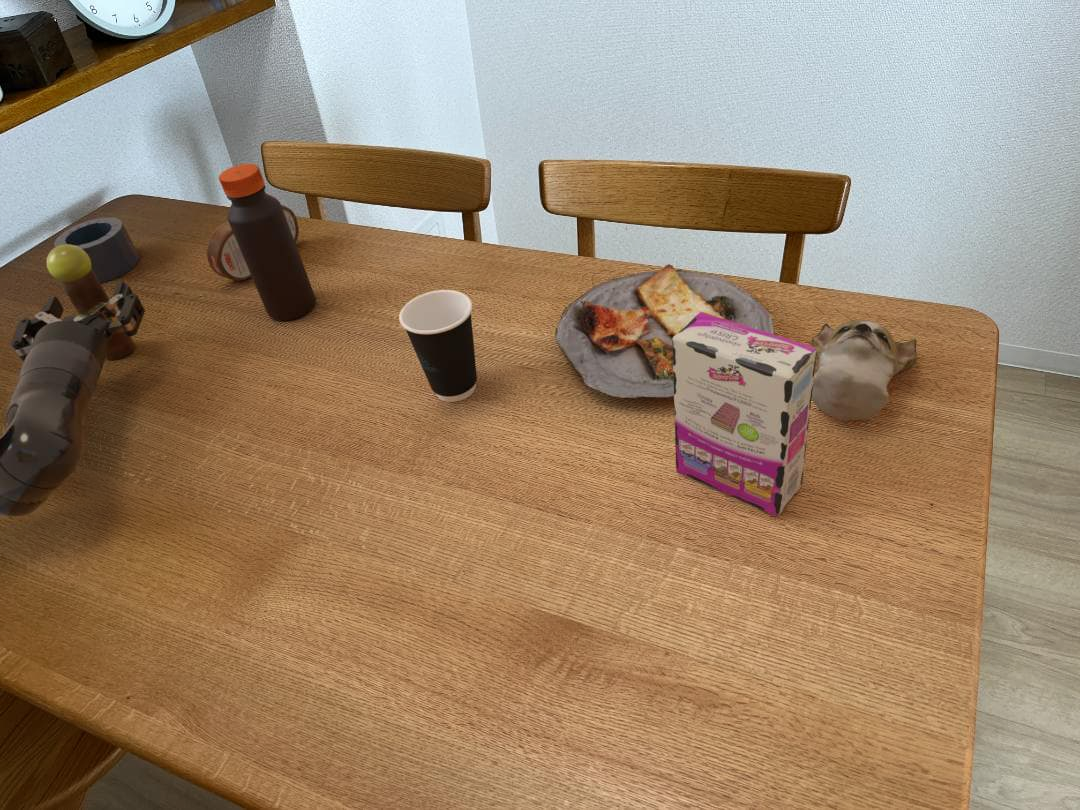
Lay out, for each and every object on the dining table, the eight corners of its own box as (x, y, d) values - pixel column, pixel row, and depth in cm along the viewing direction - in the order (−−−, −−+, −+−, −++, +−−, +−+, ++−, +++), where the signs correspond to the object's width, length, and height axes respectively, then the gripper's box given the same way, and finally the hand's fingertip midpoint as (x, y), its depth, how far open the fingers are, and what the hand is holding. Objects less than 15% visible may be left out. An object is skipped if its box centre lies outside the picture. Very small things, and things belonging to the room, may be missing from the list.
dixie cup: (497, 368, 95) (481, 289, 88) (478, 413, 89) (459, 333, 82) (434, 365, 97) (413, 288, 90) (412, 409, 91) (387, 330, 84)
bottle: (327, 299, 112) (277, 163, 99) (293, 326, 108) (236, 188, 95) (292, 290, 115) (240, 157, 102) (257, 316, 111) (198, 181, 98)
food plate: (533, 317, 102) (529, 293, 100) (698, 264, 106) (698, 241, 104) (614, 438, 84) (611, 412, 81) (809, 369, 88) (812, 343, 86)
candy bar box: (804, 485, 76) (821, 346, 65) (778, 520, 73) (792, 380, 62) (700, 441, 82) (700, 307, 71) (673, 471, 79) (669, 337, 68)
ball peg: (116, 365, 106) (52, 260, 96) (95, 357, 108) (30, 253, 98) (145, 345, 109) (87, 240, 99) (124, 337, 111) (65, 234, 101)
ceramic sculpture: (790, 352, 76) (826, 277, 87) (782, 422, 82) (816, 344, 92) (911, 375, 72) (933, 294, 82) (893, 448, 77) (917, 363, 87)
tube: (98, 289, 122) (79, 255, 119) (61, 277, 127) (41, 243, 123) (152, 257, 128) (135, 223, 124) (114, 246, 133) (97, 213, 129)
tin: (295, 239, 127) (277, 189, 121) (309, 243, 125) (291, 193, 119) (218, 288, 118) (195, 237, 113) (231, 293, 116) (208, 241, 111)
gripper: (110, 327, 90) (133, 257, 102) (-21, 357, 89) (18, 283, 101) (141, 379, 95) (159, 306, 107) (16, 408, 93) (49, 331, 106)
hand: (90, 295), depth 104 cm, fingers open, 8 cm apart
